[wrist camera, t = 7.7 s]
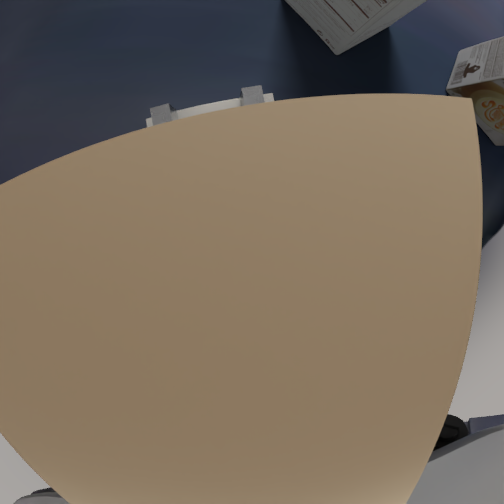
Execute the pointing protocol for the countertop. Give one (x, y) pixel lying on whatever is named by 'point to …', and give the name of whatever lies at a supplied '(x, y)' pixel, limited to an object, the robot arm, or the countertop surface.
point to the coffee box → (482, 85)
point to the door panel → (243, 303)
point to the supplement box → (350, 18)
